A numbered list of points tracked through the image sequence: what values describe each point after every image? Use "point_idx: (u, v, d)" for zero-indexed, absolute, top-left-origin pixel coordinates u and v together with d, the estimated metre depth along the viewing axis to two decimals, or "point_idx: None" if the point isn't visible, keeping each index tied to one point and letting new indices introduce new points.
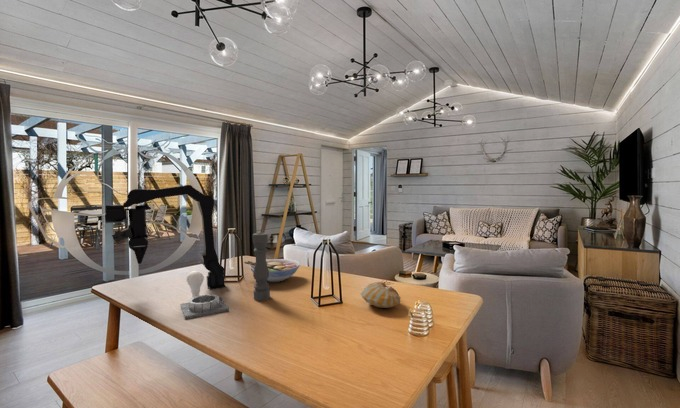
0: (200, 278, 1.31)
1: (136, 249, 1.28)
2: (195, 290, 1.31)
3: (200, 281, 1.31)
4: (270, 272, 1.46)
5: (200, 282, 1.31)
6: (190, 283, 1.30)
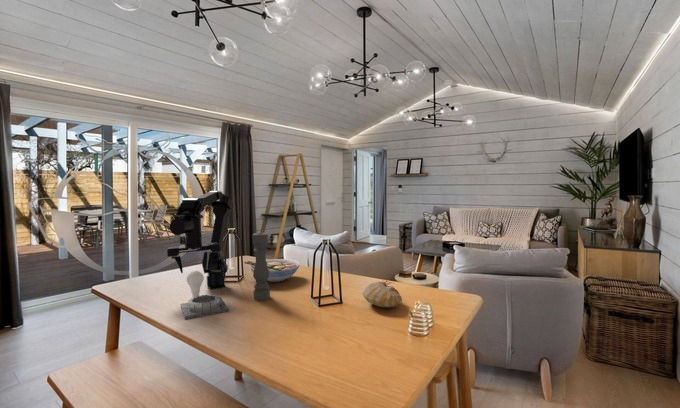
0: (200, 278, 1.31)
1: None
2: (195, 290, 1.31)
3: (200, 281, 1.31)
4: (270, 272, 1.46)
5: (200, 282, 1.31)
6: (190, 283, 1.30)
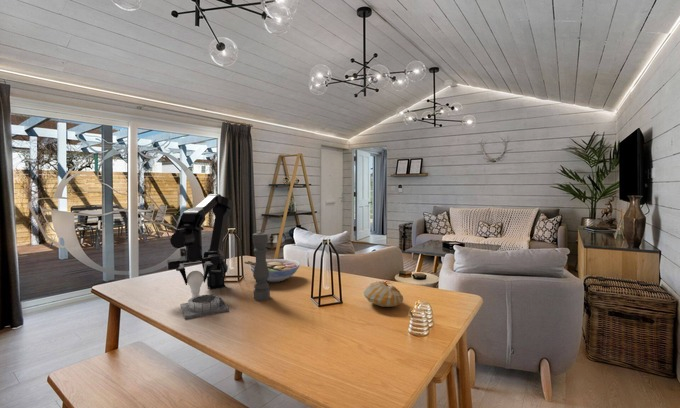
0: (200, 278, 1.31)
1: None
2: (195, 290, 1.31)
3: (200, 281, 1.31)
4: (270, 272, 1.46)
5: (200, 282, 1.31)
6: (190, 283, 1.30)
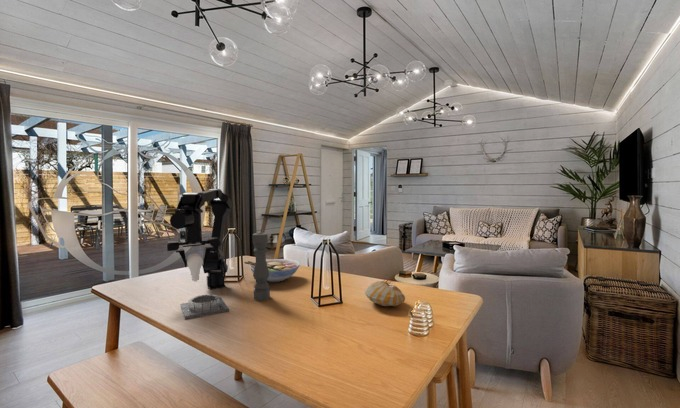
0: (200, 260, 1.30)
1: None
2: (195, 272, 1.30)
3: (200, 263, 1.30)
4: (270, 272, 1.46)
5: (200, 264, 1.31)
6: (190, 265, 1.29)
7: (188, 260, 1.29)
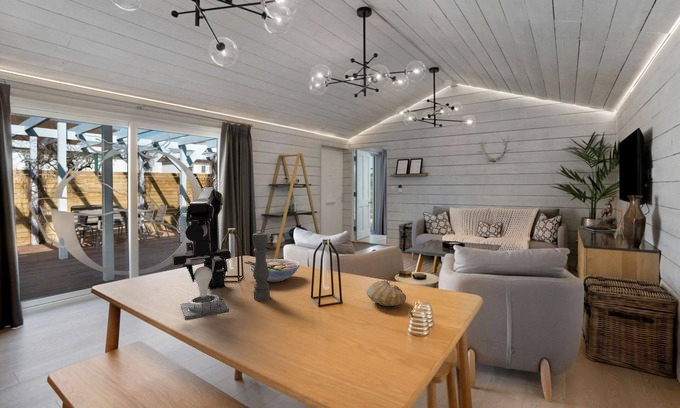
0: (208, 274, 1.20)
1: None
2: (203, 287, 1.20)
3: (208, 278, 1.20)
4: (270, 272, 1.46)
5: (208, 279, 1.21)
6: (198, 280, 1.19)
7: (196, 274, 1.19)
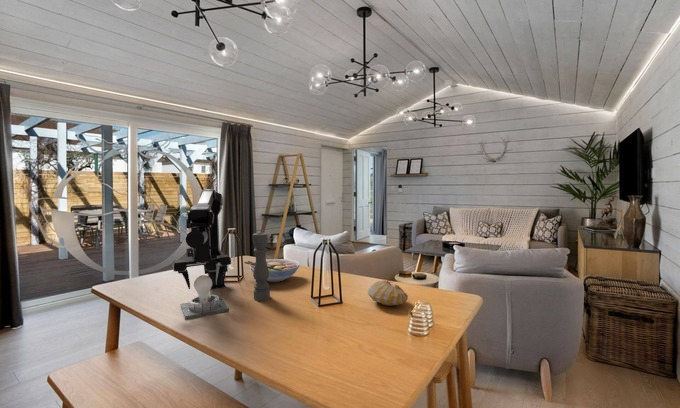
0: (209, 283, 1.20)
1: None
2: (203, 296, 1.21)
3: (209, 286, 1.21)
4: (270, 272, 1.46)
5: (209, 288, 1.21)
6: (198, 289, 1.19)
7: (196, 283, 1.19)
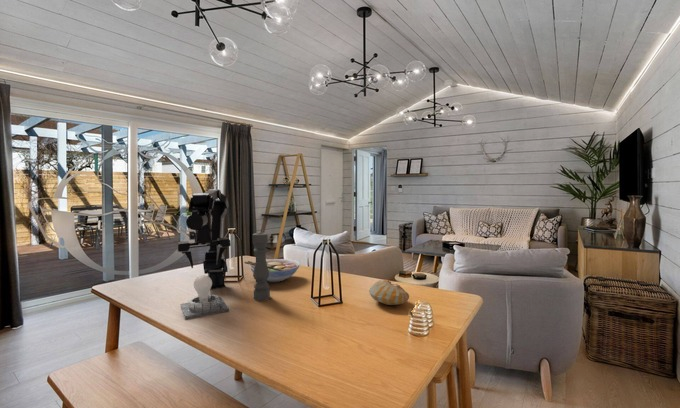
0: (208, 283, 1.20)
1: None
2: (203, 296, 1.21)
3: (208, 286, 1.21)
4: (270, 272, 1.46)
5: (208, 288, 1.21)
6: (198, 289, 1.19)
7: (196, 283, 1.19)
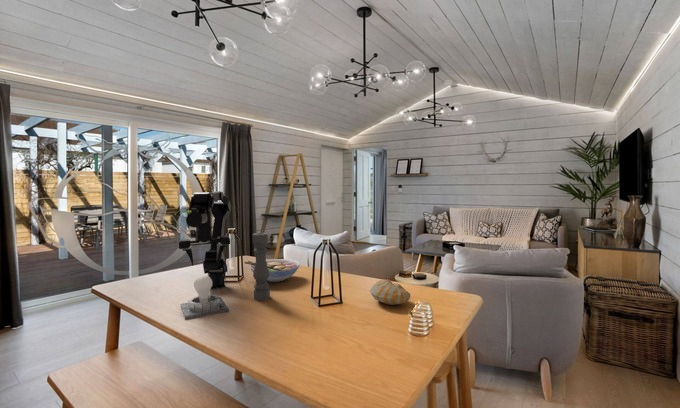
0: (209, 283, 1.20)
1: None
2: (203, 296, 1.21)
3: (209, 287, 1.21)
4: (270, 272, 1.46)
5: (209, 288, 1.21)
6: (198, 289, 1.19)
7: (196, 283, 1.19)
